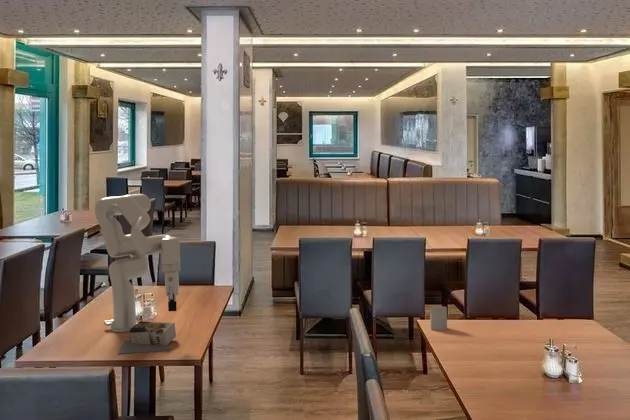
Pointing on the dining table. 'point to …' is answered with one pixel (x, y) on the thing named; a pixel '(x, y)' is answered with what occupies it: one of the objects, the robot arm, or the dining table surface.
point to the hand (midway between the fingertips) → (172, 310)
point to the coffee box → (153, 333)
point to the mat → (140, 347)
